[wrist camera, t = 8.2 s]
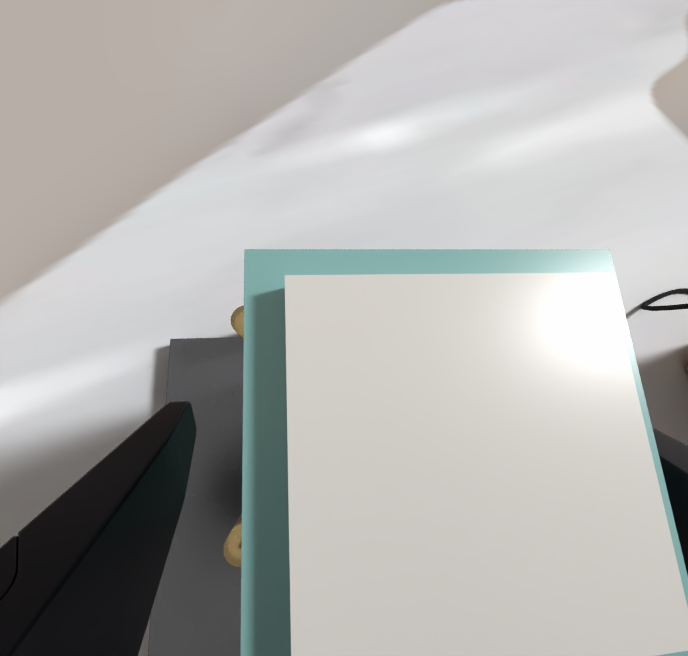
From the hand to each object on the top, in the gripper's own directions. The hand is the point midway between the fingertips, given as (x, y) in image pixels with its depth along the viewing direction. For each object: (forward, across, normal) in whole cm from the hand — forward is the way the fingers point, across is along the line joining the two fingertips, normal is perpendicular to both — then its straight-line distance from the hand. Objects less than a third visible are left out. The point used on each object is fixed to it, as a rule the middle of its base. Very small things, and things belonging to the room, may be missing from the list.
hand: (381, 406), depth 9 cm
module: (+6, 0, +6) cm, 8 cm away
